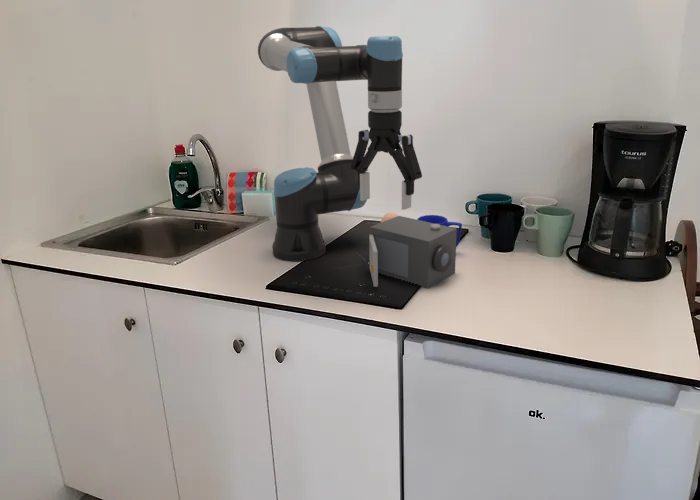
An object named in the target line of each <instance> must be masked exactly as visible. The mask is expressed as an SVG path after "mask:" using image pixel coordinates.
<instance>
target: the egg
mask: <svg viewBox="0 0 700 500" xmlns="http://www.w3.org/2000/svg"><path fill="white" fill-rule="evenodd" d="M397 216H400V215H399V214H398V213H396V212H394V211H389V212H387V213H385V214H384V215H383V217H382V219H381V220H380V223H381V222H384V221H387V220H389V219H392V218H394V217H397Z"/></svg>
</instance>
